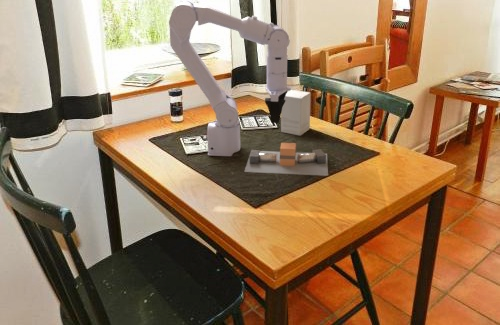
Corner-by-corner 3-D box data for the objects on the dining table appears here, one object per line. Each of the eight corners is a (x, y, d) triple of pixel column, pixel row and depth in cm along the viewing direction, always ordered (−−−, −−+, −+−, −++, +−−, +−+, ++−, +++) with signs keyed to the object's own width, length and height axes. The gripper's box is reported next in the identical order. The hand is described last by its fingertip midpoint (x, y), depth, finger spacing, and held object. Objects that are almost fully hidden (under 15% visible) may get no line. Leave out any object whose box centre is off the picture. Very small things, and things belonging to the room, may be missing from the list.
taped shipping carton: (279, 165, 123) (279, 148, 121) (281, 159, 127) (281, 142, 125) (294, 166, 123) (295, 149, 120) (295, 159, 126) (296, 143, 124)
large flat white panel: (244, 175, 120) (244, 171, 120) (251, 153, 133) (251, 150, 132) (327, 179, 118) (328, 175, 117) (326, 156, 130) (327, 153, 130)
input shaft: (249, 167, 125) (249, 156, 123) (251, 160, 128) (251, 149, 127) (275, 168, 124) (275, 157, 122) (277, 161, 128) (277, 150, 126)
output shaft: (300, 169, 123) (300, 158, 121) (295, 162, 127) (296, 151, 125) (325, 166, 124) (326, 155, 123) (320, 160, 128) (320, 149, 127)
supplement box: (310, 129, 150) (311, 92, 145) (300, 136, 145) (301, 98, 139) (290, 125, 154) (291, 89, 148) (280, 132, 148) (280, 94, 143)
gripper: (289, 78, 118) (288, 127, 124) (292, 65, 131) (291, 110, 137) (263, 78, 119) (263, 126, 125) (268, 65, 132) (268, 109, 138)
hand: (276, 118), depth 131 cm, fingers open, 7 cm apart
